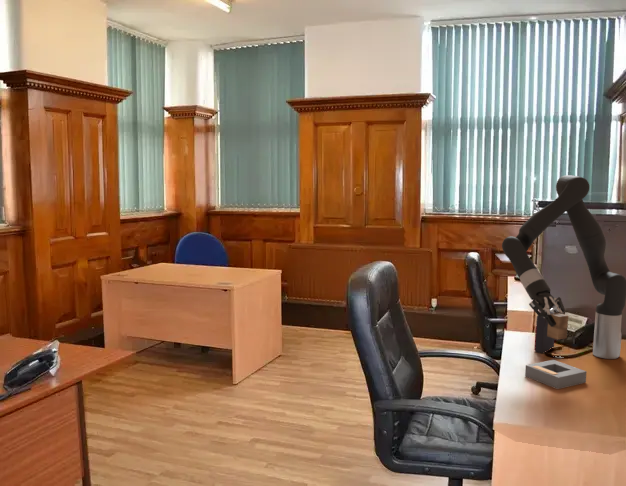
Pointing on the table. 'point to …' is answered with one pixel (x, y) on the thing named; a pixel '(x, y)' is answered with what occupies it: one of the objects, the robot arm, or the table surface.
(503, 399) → the table surface
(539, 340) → the black slab
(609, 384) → the table surface
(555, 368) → the socket block
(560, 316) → the walnut peg
